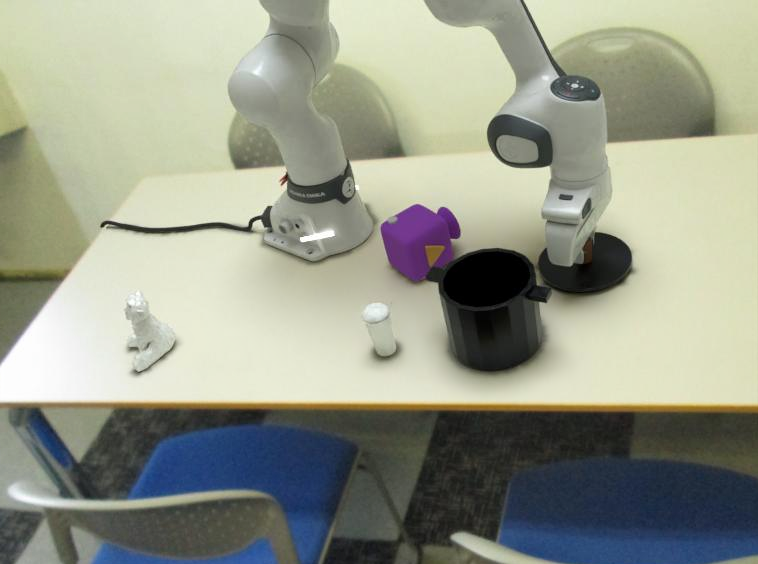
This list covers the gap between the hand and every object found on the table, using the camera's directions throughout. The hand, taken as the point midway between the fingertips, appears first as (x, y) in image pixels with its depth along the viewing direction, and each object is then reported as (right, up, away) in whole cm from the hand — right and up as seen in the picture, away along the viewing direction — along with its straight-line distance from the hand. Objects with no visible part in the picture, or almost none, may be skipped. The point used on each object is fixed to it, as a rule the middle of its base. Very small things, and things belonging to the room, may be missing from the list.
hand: (583, 254), depth 135 cm
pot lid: (0, -1, +1) cm, 2 cm away
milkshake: (-33, -17, -3) cm, 37 cm away
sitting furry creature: (-75, -16, +8) cm, 77 cm away
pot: (-15, -15, -6) cm, 22 cm away
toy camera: (-26, +1, +12) cm, 29 cm away
